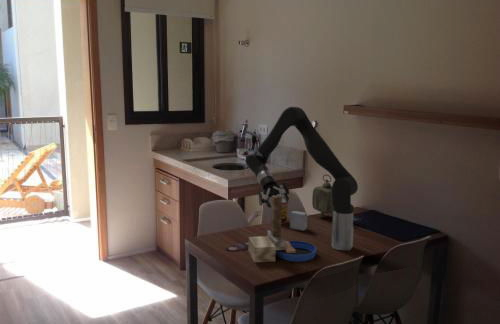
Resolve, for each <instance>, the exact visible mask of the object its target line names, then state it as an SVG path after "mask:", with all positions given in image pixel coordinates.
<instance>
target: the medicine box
mask: <svg viewBox="0 0 500 324" xmlns="http://www.w3.org/2000/svg"><path fill="white" fill-rule="evenodd" d="M289 216H290V217H289V219H290V220H289V228H290V229H291V230H292V229H293V230H297V231H306V230H307V228H308V227H307V226H308V213H307V212H302V211H296V210H292V211H291V212H290V214H289Z"/></svg>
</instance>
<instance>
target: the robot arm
mask: <svg viewBox="0 0 500 324" xmlns="http://www.w3.org/2000/svg"><path fill="white" fill-rule="evenodd" d="M291 127H295V129H296V130H297V131H298V132H299V133H300V135H301V136H302V138H303V142H304V144H305V149H306V151H307V152H308V154H309V155H310V156H311V158H312V160H313V161H314V162H315V163H316V164H317V165H319V166H320V167H321V168H323V169H324V170H325V171H326V172H328V173H329V175H331V176H332V178H333V179H334V181H333V183H332V184H331V186H332V205H333V215H332V227H331V228H332V229H331V248H332V249H334V250H337V251H351V249H352V248H353V247H354V233H355V232H354V229H355V228H354V210H355V207H354V205H353V204H352V203H351V202H352V201H351V196H354V195H355V194H356V193H357V191H358V189H359V186H358V182H357V179H355V178H354V176H353V175H351V173H350V172H349V171H348V170H347V169H346V168H345V166H344V165H343V164H342V163H341V162H340V160H339V158H338V157H337V156H336V154H334V152H333V151H332V149H331V148H330V146H329V145H328V144H327V142H326V141H325V140H324V139H323V137H322V136H321V135H320V133H319V132H318V131H317V130H316V127H314V125H313V124H312V122H311V120H310V119H309V117H308V115H307V114H306V112H305V111H304V110H303V108H301V107H299V106H288V107H286V108H284V110H283V111H282V112H281V114H280V116H279V117H278V120H277V121H276V123H275V125H273V127H272V128H271V130H270V132H269V134H268V135H267V136H266V137H265V138H264V139H263V141H262V142H261V143H260V144H259V146H258V147H257V150H258V153H259V154H257V153H254V152H250V153H248V154H247V155H246V156H245V164H246V165H247V167H248V168H249V169H250V170H251V172H252V173H254V176H255V178H256V179H257V182H258V184H259V186H260V187H261V190H262V191H258V192H257V197H258V198H259V201H260V204H264V203H265V205H266V207H267V208H270V209H272V203H271V202H270V199H271V198H272V196H274V195H280V196H281V197H283V199H285V200H286V201H287V202H289V200H290V199H289V197H290V196H288V195H290V190H289V188H288V187H287V185H286V183H284V182H282V183H281V184H280V185H279V184H278V183H277V181H276V179H275V178H274V175H273V174H272V173H271V172H270V170H269V169H268V167H267V165H266V164H267V162H268V160H269V157H270V156H271V154H272V153H273V152H274V150H275V149H277V147H278V145H279V143H280V141H281V139H282V137H283V134H285V132H286V131H287V130H288V129H289V128H291ZM263 196H265V197H264V198H263Z"/></svg>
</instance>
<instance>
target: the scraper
mask: <svg viewBox="0 0 500 324" xmlns="http://www.w3.org/2000/svg"><path fill="white" fill-rule="evenodd" d="M282 199H283V196H282V195H281V196H280V195H274V196H272V197H271V219H270V220H271V221H270V222H271V223H270V224H271V225H270V227H271V228H270V229H269V230H266V231H267V232H266V233H267V234H266V236H268V237H269V239H270V240H271V241H272V243H273V244H274V246H275V247H285V241H286V240H285V239H284V238H283V237H282V224H281V213H282Z"/></svg>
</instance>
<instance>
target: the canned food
mask: <svg viewBox="0 0 500 324" xmlns="http://www.w3.org/2000/svg"><path fill="white" fill-rule="evenodd" d="M288 202H289V201H288ZM288 202H287V201H286V199H285V198H282V213H281V225H283V224H284V223H285V224H287V223H288V204H289V203H288Z"/></svg>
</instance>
